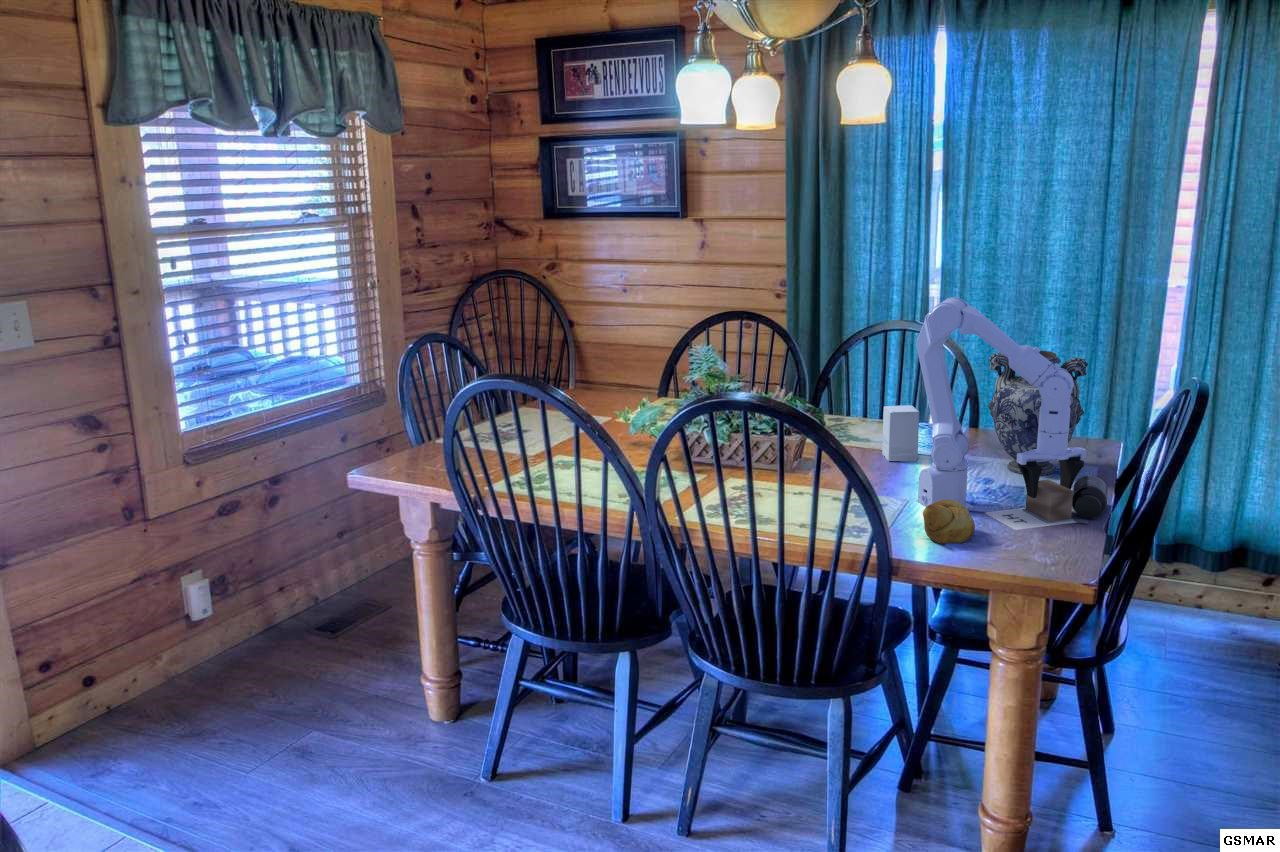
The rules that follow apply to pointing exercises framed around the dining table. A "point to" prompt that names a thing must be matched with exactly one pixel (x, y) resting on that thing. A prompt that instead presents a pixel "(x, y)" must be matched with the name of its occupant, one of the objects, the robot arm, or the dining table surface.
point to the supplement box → (900, 433)
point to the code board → (1020, 519)
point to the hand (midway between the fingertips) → (1048, 494)
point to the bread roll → (948, 522)
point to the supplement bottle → (1089, 496)
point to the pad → (1044, 519)
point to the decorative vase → (1027, 407)
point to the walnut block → (1051, 501)
